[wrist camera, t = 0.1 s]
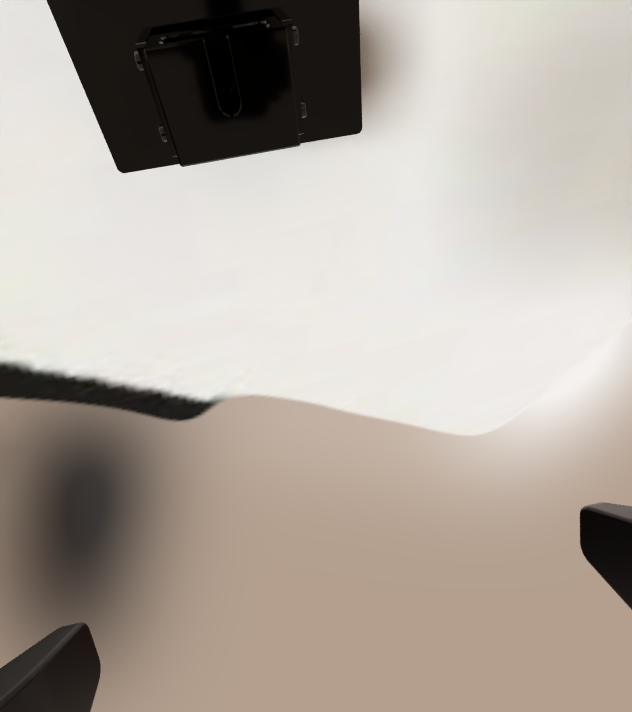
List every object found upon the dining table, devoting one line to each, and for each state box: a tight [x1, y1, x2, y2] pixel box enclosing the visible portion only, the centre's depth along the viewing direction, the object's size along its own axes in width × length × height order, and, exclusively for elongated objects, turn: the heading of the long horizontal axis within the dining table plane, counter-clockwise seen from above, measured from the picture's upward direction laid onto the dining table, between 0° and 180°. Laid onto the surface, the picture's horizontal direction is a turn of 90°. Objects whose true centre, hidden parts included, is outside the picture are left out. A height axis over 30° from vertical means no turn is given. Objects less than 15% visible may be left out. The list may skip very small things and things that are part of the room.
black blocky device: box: [47, 0, 362, 173], centre depth 13 cm, size 12×7×5 cm, turn 96°
